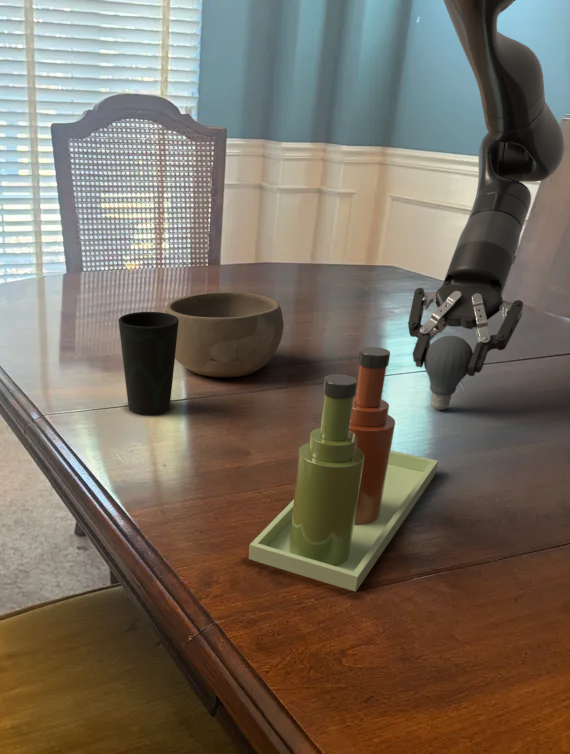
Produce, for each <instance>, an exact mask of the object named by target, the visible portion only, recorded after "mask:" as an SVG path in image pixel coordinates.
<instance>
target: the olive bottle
mask: <svg viewBox="0 0 570 754" xmlns="http://www.w3.org/2000/svg"><path fill="white" fill-rule="evenodd" d="M357 379H358V378H356V377H354V376H352V375H348V374H341V373H340V374H339V373H337V374H335V373H334V374H329V375H326V376H325V377H324V379H323V386H322V394H323V401H322V409H321V410H322V411H321V420H320V427H317V428H314V429H313V430H311V431H310V434H309V441H308V442H306V443H304V444H302V445H301V446H300V448H299V449H298V454H297V455H298V456H297V464H296V465H297V466H296V475H295V476H296V477H295V485H294V495H293V500H294V504H293V514H292V524H291V533H290V543H289V550H290V553H292V554H295V555H299V556H302V557H306V558H309V559H312V560H316V561H319V562H323V563H326V564H329V565H333V566H337V565H340V564H342V563H344V562H345V561H347V560H348V558H349V556H350V550H351V544H352V537H353V530H354V524H355V517H356V510H357V504H358V497H359V491H360V484H361V477H362V471H363V464H364V457H365V456H364V453H363V452H362V451H361V450H360V449H359V448H357V447H356V446H357V439H358V438H357V435H356V434H355V433H353V432H351V431H349V426H350V419H351V412H352V404H353V397H355V395H356V389H357Z"/></svg>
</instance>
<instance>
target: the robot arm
mask: <svg viewBox="0 0 570 754" xmlns="http://www.w3.org/2000/svg"><path fill="white" fill-rule="evenodd" d="M442 1H443V4H444V6H445V8H446V11H447V13H448V15H449V16H448V17H449V18H450V21H451V24H452V25H453V26H452V27H453V28H454V31H455V33H456V36H457V38H458V41H459V43H460V45H461V48H462V51H463V52H464V54H465V57H466V60H467V61H468V63H469V66H470V68H471V70H472V73H473V76H474V78H475V81H476V85H477V88H478V91H479V96H480V97H479V98H480V102H481V107H482V113H483V119H484V124H485V125H484V126H485V128H486V131H487V133H486V134H485V135H484V137H483V138H482V139H481V142H480V146H479V149H478V180H477V189H476V194H475V199H474V202H473V205H472V208H471V210H470V213H469V216H468V219H467V221H466V224H465V225H464V227H463V230H462V232H461V233H460V236H459V239H458V240H457V243H456V246H455V248H454V252H453V255H452V257H451V261H450V263H449V265H448V269H447V272H446V274H445V278H444V280H443V283H442V284H441V286H440V287H439V288H438V289H437V290H436V291H425V289H424V288H423V287H418V288H415V290H414V292H413V298H412V302H411V308H410V311H409V317H408V322H407V325H408V326H407V327H408V331H409V336H410V337H412V338H416V339H417V340H416V342H415V346H414V348H413V350H412V358H413V363H415V367H416V368H423V366H424V358H425V354H426V351H427V349H428V348H429V346H430V345H431V341H432V340H433V339H434V338H435V337H436V336H437V335H438V334H441V333H443V331H444V330H445V329H446V328H447V327H453V328H456V327H458V328H459V327H461V328H464V329H466V330H467V329H468V330H475V334H476V338H477V342H476V343H475V346H474V349H473V355H472V358H471V361H470V364H469V367H468V373H467V376H469V377H475V374H476V373H477V374H480V372H482V370H483V368H484V364H485V361H486V358H487V355H488V353H489V352H490V351H492V350H498V351H503V350H505V349H506V348H507V345H508V344H509V342H510V339H511V338H512V336H513V334H514V332H515V330H516V328H517V327H518V324H519V322H520V320H521V318H522V316H523V310H524V309H523V308H524V302H523V300H520V299H516V300H514V301H513V302H512V301H507V300H504V299H503V296H502V295H503V293H504V289H505V287H506V283H507V281H508V277H509V275H510V273H511V269H512V267H513V265H514V262H515V260H516V257H517V256H516V255H517V252H518V248H519V243H520V238H521V235H522V234H521V233H522V231H523V228H524V225H525V222H526V218H527V216H528V213H529V210H530V208H531V203H532V193H531V190H530V189H529V187H528V186H527V185H525V184H524V182H525V183H526V182H527V183H528V182H530V183H532V182H541V181H545V180H547V179H548V178H550V177H551V176H552V175H553V174H554V173H555V172H557V170H558V169H559V167H560V165H561V163H562V160H563V157H564V152H565V138H564V133H563V130H562V128H561V125H560V123H559V121H558V120H557V117H555V115H554V113H553V111H552V110H551V107H549V104H548V103H547V101H546V95H545V84H544V83H545V82H544V74H543V69H542V65H541V61H540V60H539V58H538V56H537V55H536V53H535V52H534V51H533V50H532V49H531V48H530V47H529V46H527V44H524V43H522V42H520V41H519V40H515V39H514V38H511V37H508V36H506V35H504V34H502V33H501V32H500V31H498V18H499V16H500V15H501V14H502V12H503V13H504V12H505V10H507V9H509V7H510V6H511V5H513V4H514V2H516V0H442ZM433 303H435V305H436V307H437V309H436V310H435V311H434V312H433V313H431V316H430V318H429V319H428V320H427V321H426V322H425V323H424V324H422V320H423V319H422V318H423V316H424V315H423V314H424V311H426V310H428V309H429V308H430V306H431V304H433ZM499 312H501V313H502V319H503V321H502V324H501V326H500V327H499V329H498V331H497V333H496V334H493V335H492V334H490V330H489V326H488V320H490V319H491V318H492V317H493V316H495V315H496V314H497V313H499Z"/></svg>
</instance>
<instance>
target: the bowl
mask: <svg viewBox="0 0 570 754" xmlns="http://www.w3.org/2000/svg"><path fill="white" fill-rule="evenodd" d="M164 309H165V310H164V313H167V314H171V315H174V316H175V317H177V318H178V320H179V323H178V333H177V342H176V352H175V361H177V362H178V363H179V365H182V366H183V367H184V368H186V369H187V370H189V371H190V372H192V373H195V374H197V375H200V376H204V377H205V376H207V377H209V378H210V377H211V378H219V379H220V378H237V377H239V378H240V377H245V376H249V375H251V374H254V373H255V372H256V371H259V370H260V369H262V368H263V367H264V366H265V365H266V364H268V362H270V360H272V358H273V357H274V355H275V353H277V350H278V349H279V346H280V343H281V341H282V338H283V334H284V327H285V326H284V325H285V324H284V317H283V312H282V311H283V310H282V307H281V305H280V303H279V301H277V300H276V299H274V298H272V297H270V296H266V295H263V294H255V293H247V292H241V291H208V292H200V293H193V294H189V295H185V296H181V297H178V298H175V299H173V300H171V301H169V302H168V303H167V304H166V307H165V308H164Z"/></svg>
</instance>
